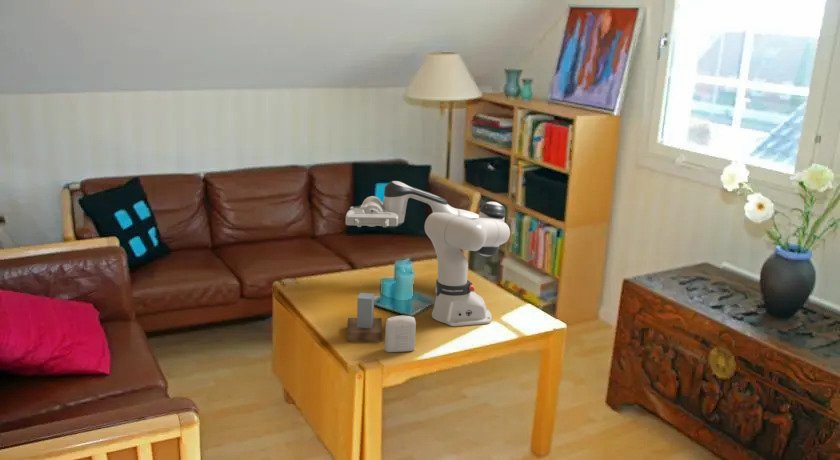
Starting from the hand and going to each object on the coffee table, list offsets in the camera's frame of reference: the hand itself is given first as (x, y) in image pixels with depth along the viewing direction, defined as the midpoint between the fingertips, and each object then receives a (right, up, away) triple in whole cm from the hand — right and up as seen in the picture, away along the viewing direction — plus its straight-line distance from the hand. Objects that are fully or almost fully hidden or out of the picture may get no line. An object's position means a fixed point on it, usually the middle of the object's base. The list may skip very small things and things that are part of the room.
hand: (371, 225), depth 273 cm
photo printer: (+11, -43, -27) cm, 52 cm away
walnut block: (-1, -39, -16) cm, 42 cm away
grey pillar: (-1, -35, -17) cm, 39 cm away
